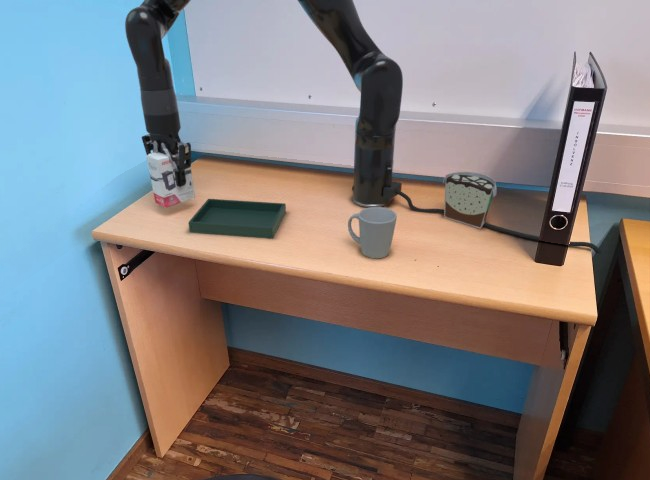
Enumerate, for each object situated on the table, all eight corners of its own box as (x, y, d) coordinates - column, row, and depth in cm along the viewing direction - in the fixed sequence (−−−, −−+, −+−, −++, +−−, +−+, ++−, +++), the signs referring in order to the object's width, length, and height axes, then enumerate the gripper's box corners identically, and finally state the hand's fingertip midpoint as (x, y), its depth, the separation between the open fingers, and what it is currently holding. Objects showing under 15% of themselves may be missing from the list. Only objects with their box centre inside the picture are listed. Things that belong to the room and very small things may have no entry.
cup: (386, 264, 108) (388, 225, 104) (340, 254, 112) (341, 216, 108) (399, 248, 114) (402, 210, 109) (355, 238, 118) (356, 202, 113)
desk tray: (286, 213, 129) (285, 203, 128) (272, 238, 119) (272, 228, 117) (209, 208, 133) (208, 198, 131) (189, 232, 122) (188, 222, 120)
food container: (500, 221, 123) (508, 179, 118) (487, 231, 120) (495, 188, 114) (452, 207, 130) (457, 167, 125) (438, 215, 127) (443, 174, 121)
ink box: (165, 208, 126) (157, 159, 120) (154, 202, 129) (145, 154, 123) (196, 197, 131) (189, 149, 125) (184, 192, 134) (177, 145, 128)
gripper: (196, 109, 117) (205, 184, 127) (151, 101, 124) (163, 172, 134) (170, 118, 112) (182, 194, 122) (125, 108, 119) (139, 181, 129)
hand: (172, 182), depth 128 cm, fingers closed on ink box, 5 cm apart
